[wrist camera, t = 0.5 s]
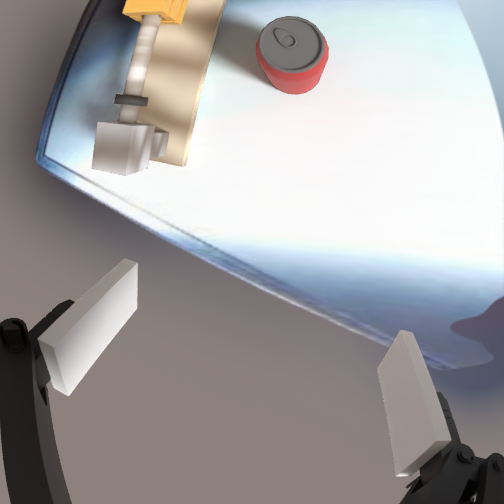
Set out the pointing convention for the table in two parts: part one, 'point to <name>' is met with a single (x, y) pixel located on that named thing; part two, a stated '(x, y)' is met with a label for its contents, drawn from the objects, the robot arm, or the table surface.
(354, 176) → the table surface
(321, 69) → the beer can
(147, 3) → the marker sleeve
